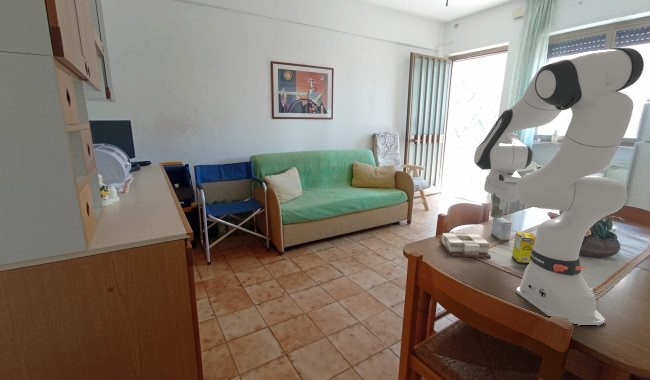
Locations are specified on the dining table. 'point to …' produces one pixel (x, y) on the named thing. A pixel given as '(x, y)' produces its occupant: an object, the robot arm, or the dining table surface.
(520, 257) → the supplement box
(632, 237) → the dining table surface
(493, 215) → the peg
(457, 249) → the holder board
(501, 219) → the medicine box
